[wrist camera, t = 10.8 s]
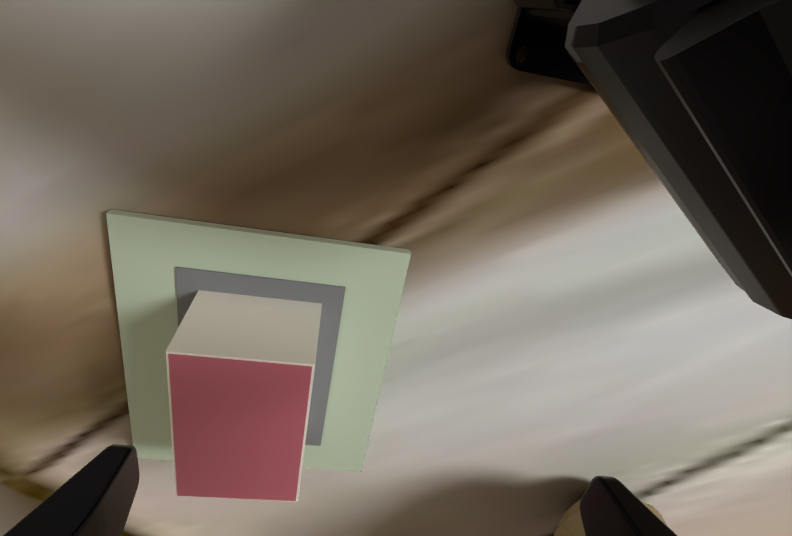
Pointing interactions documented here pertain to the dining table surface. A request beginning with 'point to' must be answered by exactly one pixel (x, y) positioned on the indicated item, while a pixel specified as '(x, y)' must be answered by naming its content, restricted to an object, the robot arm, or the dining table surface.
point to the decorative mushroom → (571, 524)
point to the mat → (263, 277)
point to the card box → (241, 395)
